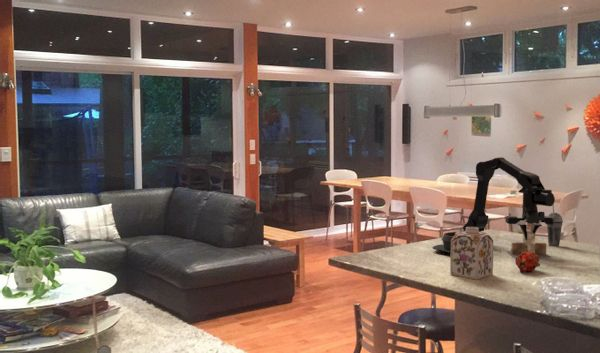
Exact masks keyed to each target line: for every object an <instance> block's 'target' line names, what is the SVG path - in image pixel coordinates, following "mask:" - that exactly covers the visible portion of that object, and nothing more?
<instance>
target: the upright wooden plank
mask: <svg viewBox="0 0 600 353" xmlns="http://www.w3.org/2000/svg"><path fill="white" fill-rule="evenodd" d="M526 230H527V240H525V237H524V235H523V234H522V243H526V249H527V250H528V252H535V243H536V233H535V234H534V233H533V232H531V229H528V228H526Z"/></svg>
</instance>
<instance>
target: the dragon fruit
mask: <svg viewBox="0 0 600 353" xmlns="http://www.w3.org/2000/svg"><path fill="white" fill-rule="evenodd" d="M514 259H515V260H514V262H515V265H516V267H517V268H518V269H519V272H520V273H526V272H528V271H529V272H531V273H534V272H535V271H536V268H538V267H541V264H540V263H539V262H540V259H541V258H539V256H538V255H537V254H535V252H528V250H525V252H522V253H519V254H518V256H517V257H516V258H514Z"/></svg>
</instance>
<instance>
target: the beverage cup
mask: <svg viewBox="0 0 600 353" xmlns="http://www.w3.org/2000/svg"><path fill="white" fill-rule="evenodd" d="M554 204H555V203H554ZM554 204H553V205H552V206H551V207H552V212H551V213H550V214H548V215H547V216H550V217H552V218H553V219H554V224H546V227H547V241H548V242H547V243H548V247H558V248H559V247H560V244H561V233H562V227H563V223H564V220H563V217H562V216H561V214H559V213H557V212H555V205H554Z"/></svg>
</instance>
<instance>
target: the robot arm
mask: <svg viewBox="0 0 600 353" xmlns="http://www.w3.org/2000/svg"><path fill="white" fill-rule="evenodd" d="M498 169H500V170H502V171H503V172H505V173H506V174H508V175H510V176H511V177H513V178H514V179H516V181H517V183H518V184H519V185H520V186H521V188H520V189H519V190H518V193H519V194H522V205H521V206H522V207H521V209H522V210H521V211H522V214H521V217H518V216H516V215H507V216H505V223H506V224H508V225H518V226H519V227H520V229H521V231H522V236H523V235H524V237H525V240H527V230H526V229H528V228H527V226H528V225H527V224H529V225H530V224H531V226H530V227H531V228H530V231H531V232H533V233H534V234H535V235H536V232H537V230H538V229H539V227H542V226H543V225H542V223H544V224H545V225H547V224H554V219H553V218H552V217H550V216H548V215H545V214H546V213H545V211H538V206H543V207H544V206H545V207H553V206H552V205H553V204H555V201H556V197H555V195H554V193H553V189H546V188H545V187H544V184H543V183H542V181H541V180H540V179H541V178H540V176H539V175H538V174H536V173H533V172H531V171H525V170H523V169H521V168H520V167H518V166H517V165H515V164H513V163H512V162H510V161H509V160H507V159H506V158H505V157H502V156H501V157H495V158H493V159H490V160H486V161H479V162H477V163H476V164H475V175H476V178H477V186H476V191H475V199H474V204H473V210H471V212H470V213H469V216H468V218H467V222H466V223H465V224H464V225H463V226H462V229H463V230H462V231H466V227H477V228H479V231H480V232H484V230H485V228H486V227H487V224H489V223H488V221H489V220H488V219H489V215H487V214H486V212H485V210H486V209H485V208H486V205H487V204H486V203H487V197H488V191H489V184H490V182H491V179H492V178H493V177H494V174H495V171H496V170H498ZM526 223H527V224H526Z"/></svg>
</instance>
